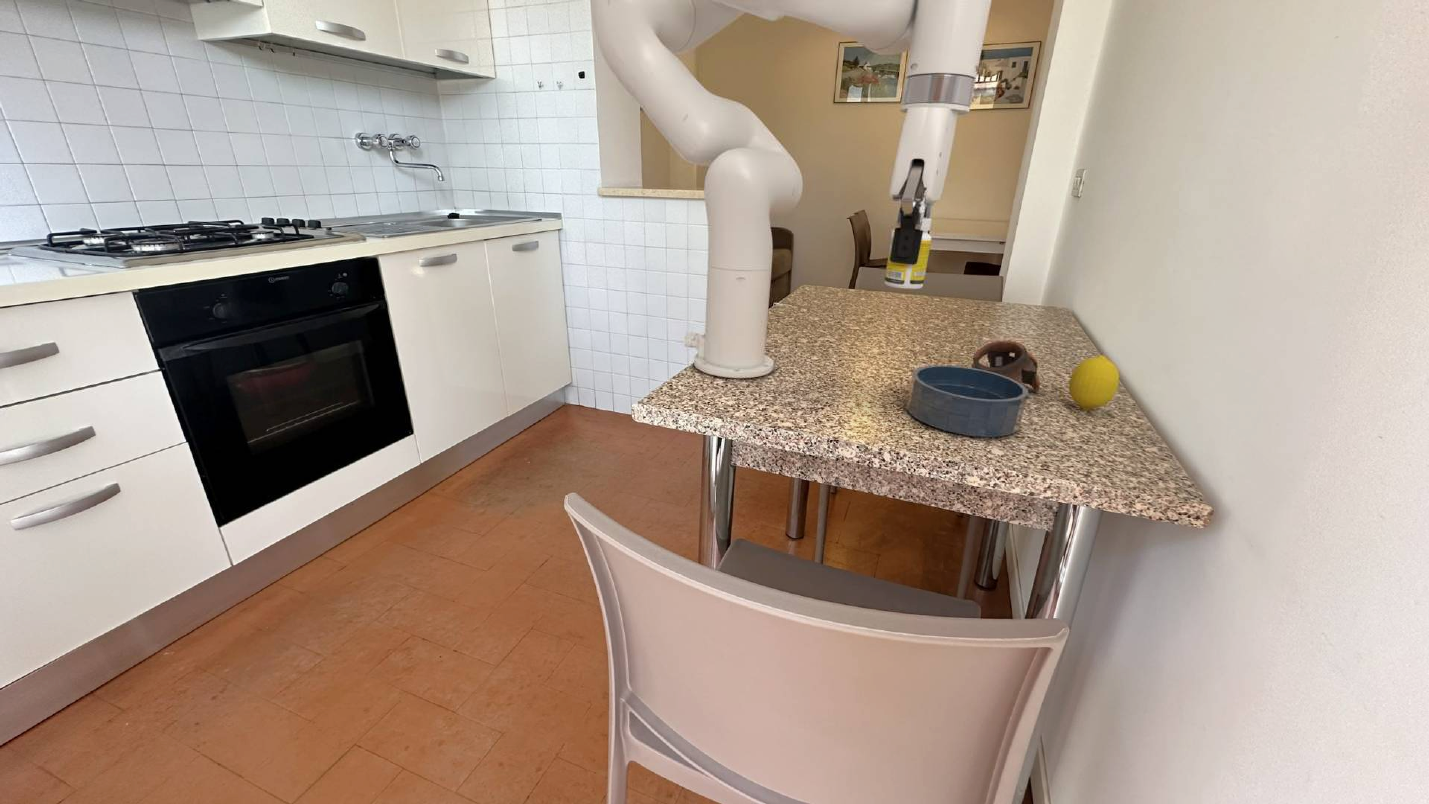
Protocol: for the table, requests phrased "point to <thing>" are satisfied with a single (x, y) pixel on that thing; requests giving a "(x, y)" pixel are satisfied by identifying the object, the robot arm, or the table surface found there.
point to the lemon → (1094, 382)
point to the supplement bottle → (907, 273)
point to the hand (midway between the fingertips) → (907, 259)
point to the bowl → (966, 400)
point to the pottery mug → (1009, 362)
